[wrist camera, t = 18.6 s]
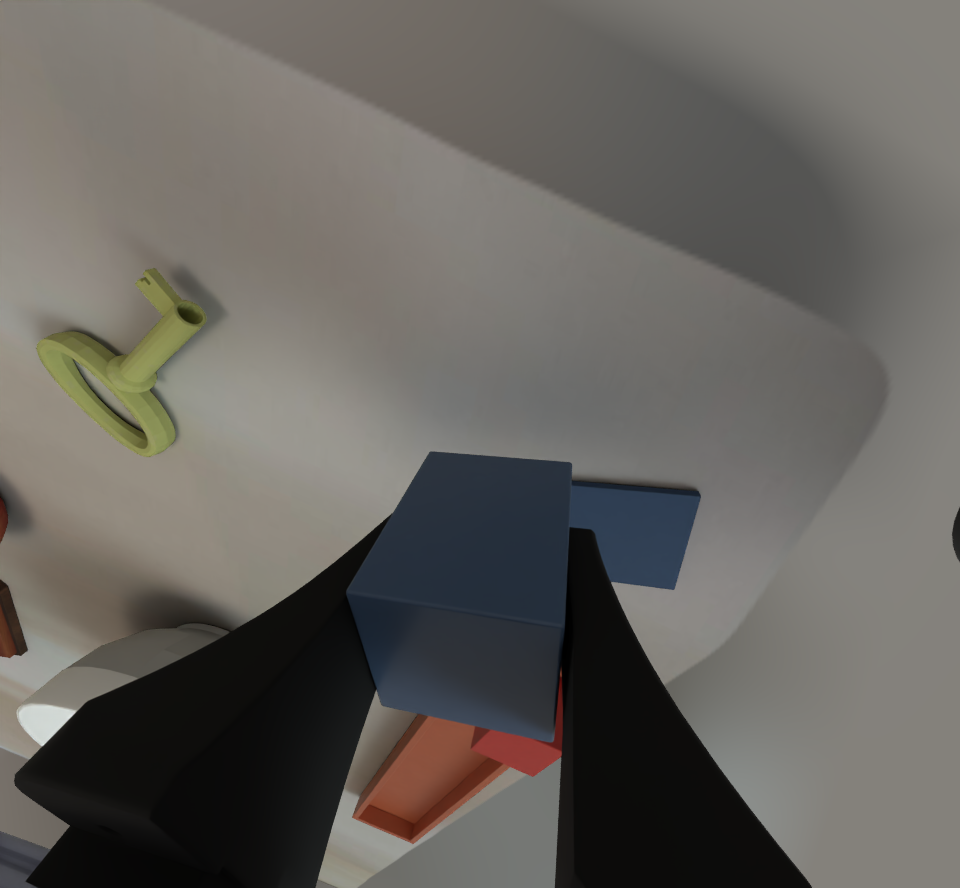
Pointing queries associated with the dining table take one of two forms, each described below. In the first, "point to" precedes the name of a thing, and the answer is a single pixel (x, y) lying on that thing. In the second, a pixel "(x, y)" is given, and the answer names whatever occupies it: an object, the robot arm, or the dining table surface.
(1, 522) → the apple
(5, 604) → the contraption on wooden base
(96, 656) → the bowl
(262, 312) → the dining table surface
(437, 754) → the red tray
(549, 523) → the blue block
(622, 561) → the blue mat
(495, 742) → the red block
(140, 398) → the key
